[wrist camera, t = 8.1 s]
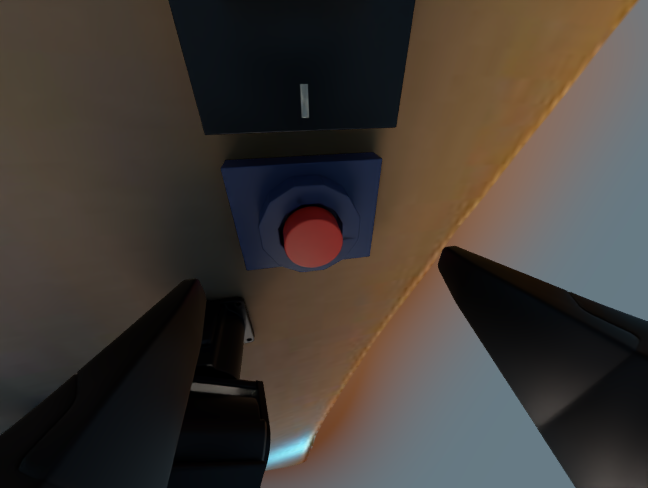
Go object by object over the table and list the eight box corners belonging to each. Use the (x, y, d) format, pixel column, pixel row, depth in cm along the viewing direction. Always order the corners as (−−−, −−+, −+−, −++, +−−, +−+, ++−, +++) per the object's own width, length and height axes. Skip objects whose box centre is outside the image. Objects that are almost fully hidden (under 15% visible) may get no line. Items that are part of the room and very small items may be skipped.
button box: (363, 245, 21) (377, 270, 18) (248, 257, 20) (244, 287, 17) (373, 151, 17) (394, 166, 14) (224, 159, 15) (213, 178, 12)
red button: (336, 249, 17) (342, 264, 16) (286, 254, 17) (287, 271, 15) (337, 203, 15) (344, 216, 14) (280, 207, 15) (280, 221, 13)
